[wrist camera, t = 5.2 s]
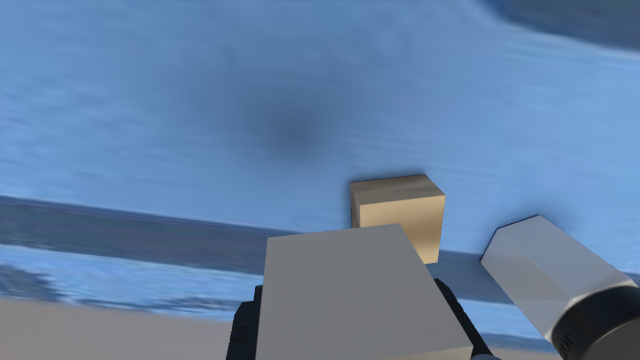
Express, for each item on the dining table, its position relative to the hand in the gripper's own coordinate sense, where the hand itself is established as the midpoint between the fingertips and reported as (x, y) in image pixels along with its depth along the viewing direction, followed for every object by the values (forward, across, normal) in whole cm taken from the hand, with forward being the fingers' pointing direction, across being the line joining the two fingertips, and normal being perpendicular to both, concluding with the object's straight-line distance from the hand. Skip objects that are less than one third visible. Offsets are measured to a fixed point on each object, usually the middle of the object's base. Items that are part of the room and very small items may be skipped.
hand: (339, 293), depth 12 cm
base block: (+15, -7, +7) cm, 18 cm away
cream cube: (+1, 0, 0) cm, 1 cm away
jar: (+16, -22, +13) cm, 30 cm away
